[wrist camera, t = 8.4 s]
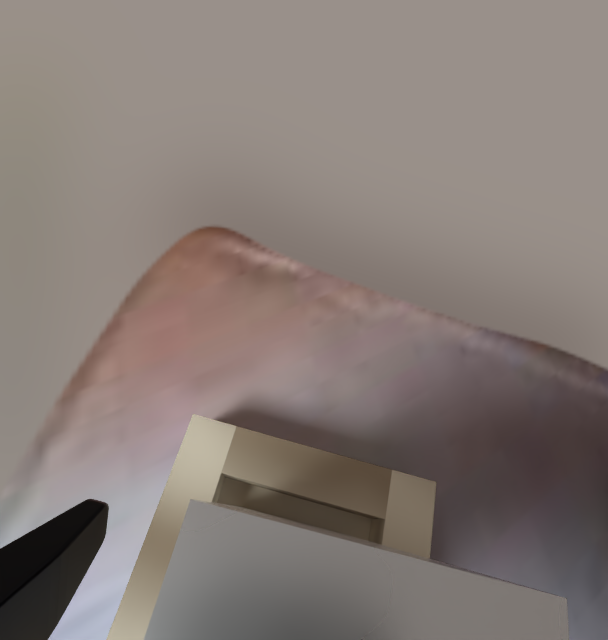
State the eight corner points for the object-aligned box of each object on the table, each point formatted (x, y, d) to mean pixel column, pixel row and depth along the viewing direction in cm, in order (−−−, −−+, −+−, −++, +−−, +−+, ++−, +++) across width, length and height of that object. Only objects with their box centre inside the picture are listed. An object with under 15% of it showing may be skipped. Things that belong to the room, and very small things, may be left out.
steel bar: (322, 669, 14) (614, 1423, 2) (204, 637, 14) (-53, 1228, 3) (344, 534, 16) (567, 598, 4) (240, 506, 16) (190, 498, 4)
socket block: (375, 789, 14) (404, 856, 11) (100, 708, 14) (62, 754, 11) (410, 487, 18) (436, 482, 16) (202, 428, 18) (193, 414, 16)
